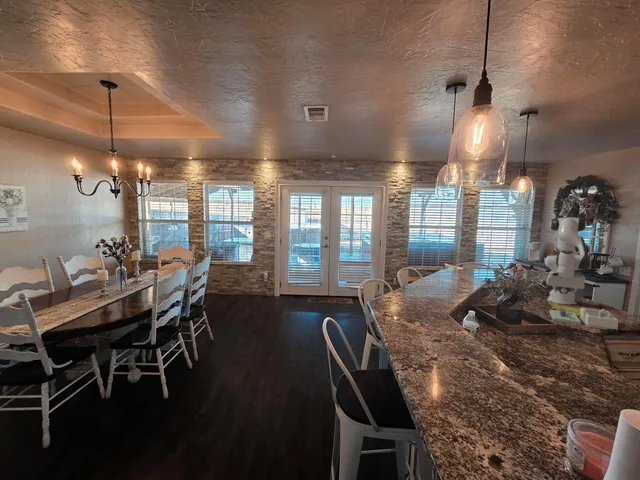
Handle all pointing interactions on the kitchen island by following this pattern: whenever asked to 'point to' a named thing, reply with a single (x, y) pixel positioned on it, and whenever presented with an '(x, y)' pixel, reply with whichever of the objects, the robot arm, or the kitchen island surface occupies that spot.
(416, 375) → the kitchen island surface
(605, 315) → the white open box
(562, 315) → the green lid
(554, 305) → the plastic component
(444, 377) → the kitchen island surface
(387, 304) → the kitchen island surface
